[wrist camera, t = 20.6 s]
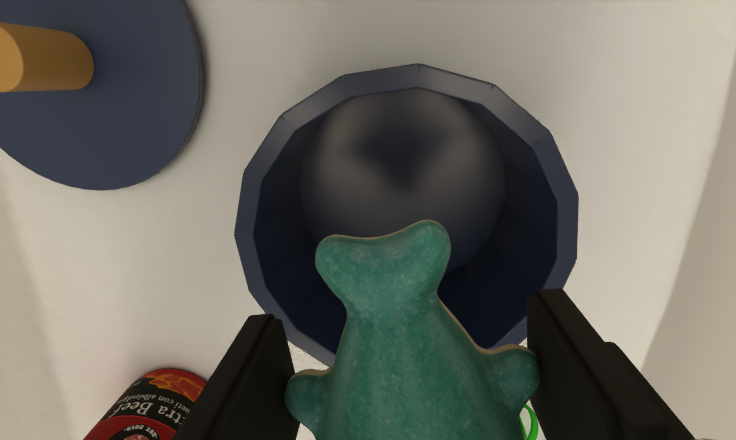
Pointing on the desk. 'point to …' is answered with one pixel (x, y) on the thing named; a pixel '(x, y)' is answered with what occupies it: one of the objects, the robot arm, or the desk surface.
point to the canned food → (150, 407)
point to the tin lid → (97, 88)
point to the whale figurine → (407, 351)
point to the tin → (408, 199)
